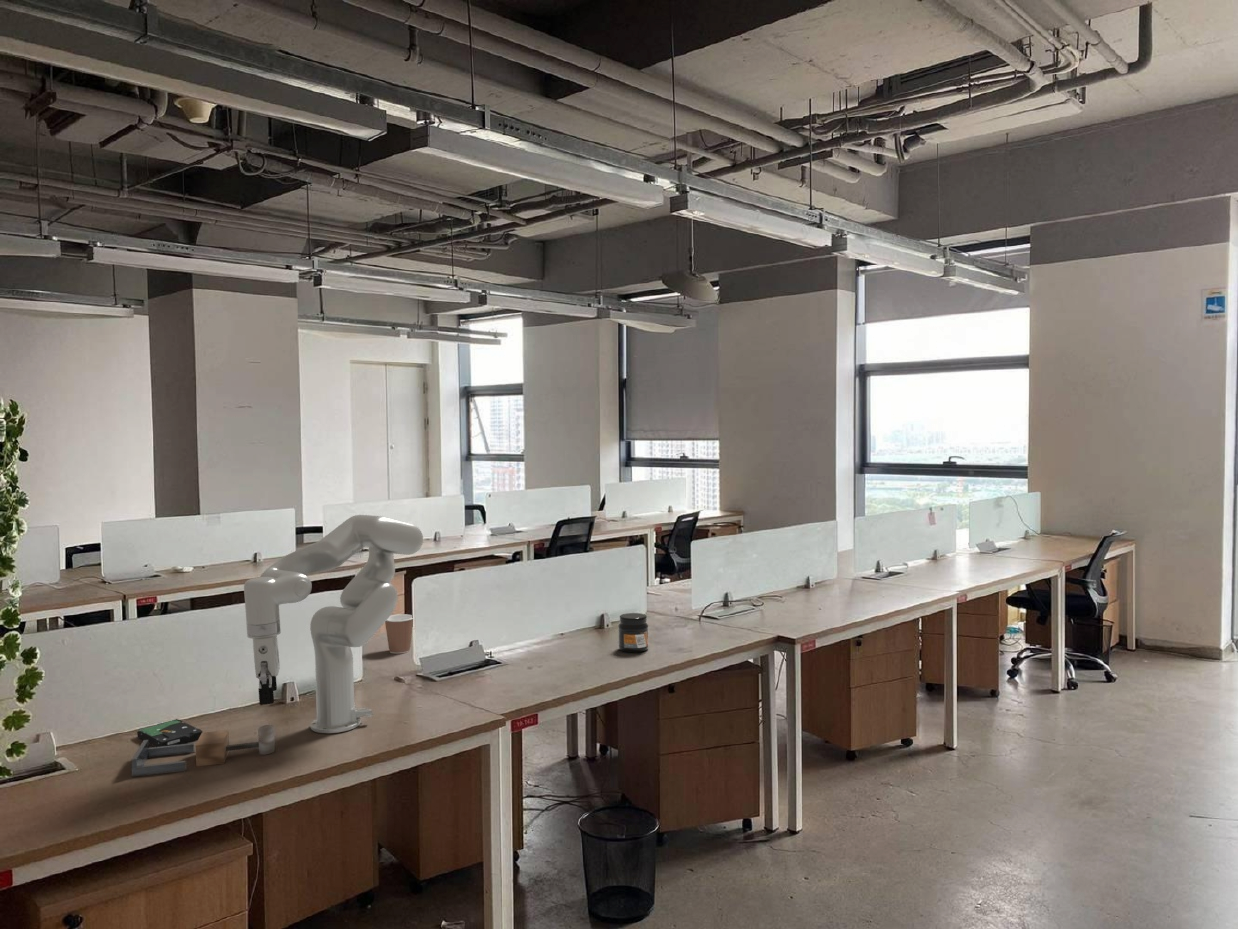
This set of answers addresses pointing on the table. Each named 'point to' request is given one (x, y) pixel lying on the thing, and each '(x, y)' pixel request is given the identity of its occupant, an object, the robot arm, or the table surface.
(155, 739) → the disk drive
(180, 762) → the grey u-shaped frame
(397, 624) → the coffee cup
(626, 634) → the supplement container
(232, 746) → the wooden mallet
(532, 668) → the table surface
